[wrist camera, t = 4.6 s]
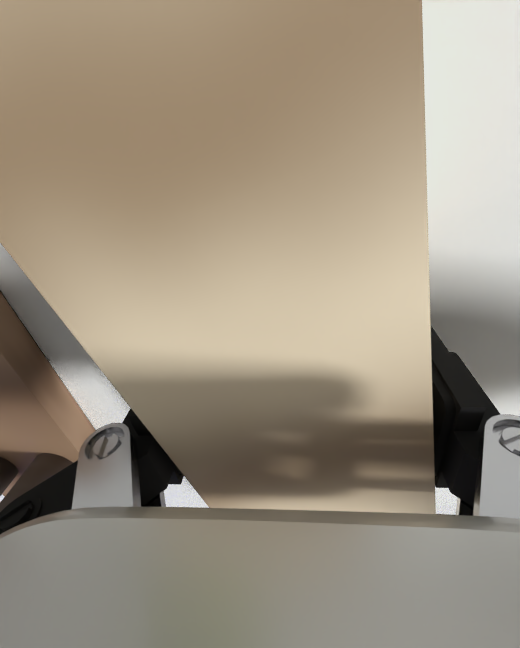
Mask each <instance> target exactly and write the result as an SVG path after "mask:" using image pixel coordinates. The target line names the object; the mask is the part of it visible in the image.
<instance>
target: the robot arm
mask: <svg viewBox="0 0 520 648" xmlns="http://www.w3.org/2000/svg"><path fill="white" fill-rule="evenodd" d="M431 362H432V399H433V436H434V473H435V486H436V488H449V490H450V492H451V493H452V494H454V495H455V496H457V497H458V499H457V507H456V515H445V514H418V513H385V512H353V511H317V510H278V509H238V508H189V507H166V504H165V496H164V490H165V489H166V488H167V486H168V484H181V483H182V479H183V476H184V475H183V473H182V472H181V471H180V470H179V468H178V467H177V466H176V465H175V463H174V462H173V461H172V460H171V458H170V457H169V456H168V454H167V453H166V452H165V451H164V449H163V448H162V447H161V446H160V444H159V443H158V442H157V441H156V439H155V438H154V437H153V435H152V434H151V433H150V432H149V430H148V429H147V428H146V427H145V425H144V424H143V423H142V421H141V420H140V419H139V418H138V416H137V415H136V414H135V413H134V411H133V410H132V409H130V410H129V412H128V414H127V416H126V417H125V419H124V421H123V423H111V424H108V425H105V426H103V427H101V428H99V429H97V430H96V431H94V432H93V433H92V434H91V435H90V436H89V437H88V438H87V439H86V440H85V441H84V443H83V444H82V446H81V448H80V451H79V457H78V460H77V461H76V462H74V463H72V464H71V465H69V466H67V467H66V468H64V469H63V470H61V471H59V472H58V473H56V474H55V475H53V476H51V477H50V478H48V479H47V480H45V481H43V482H42V483H40V484H39V485H37V486H35V487H34V488H32V489H31V490H29V491H27V492H26V493H24V494H23V495H21V496H19V497H18V498H16V499H15V500H14V501H12V502H11V503H9V504H8V505H7V506H6V507H5V508H4V509H3V510H2V511H1V512H0V648H520V416H515V415H510V414H503V415H500V413H499V412H498V410H497V409H496V408H495V406H494V405H493V403H492V402H491V401H490V399H489V398H488V396H487V395H486V394H485V392H484V391H483V390H482V388H481V387H480V385H479V384H478V383H477V381H476V380H475V378H474V377H473V376H472V374H471V373H470V371H469V370H468V369H467V367H466V366H465V365H464V363H463V362H462V360H461V359H460V358H459V356H458V355H457V354H456V353H454V352H449V351H448V350H447V348H446V347H445V346H444V344H443V343H442V341H441V340H440V338H439V337H438V335H437V334H436V333H435V331H434V330H433V328H432V327H431Z"/></svg>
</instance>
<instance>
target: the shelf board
mask: <svg viewBox="0 0 520 648" xmlns="http://www.w3.org/2000/svg"><path fill="white" fill-rule="evenodd" d="M0 243H1V244H2V245H3V247H4V248H5V249H6V250H7V252H8V253H9V254H10V255H11V257H12V258H13V259H14V260H15V262H16V263H17V264H18V266H19V267H20V268H21V269H22V271H23V272H24V273H25V274H26V276H27V277H28V278H29V279H30V281H31V282H32V283H33V285H34V286H35V287H36V288H37V290H38V291H39V292H40V293H41V295H42V296H43V297H44V299H45V300H46V301H47V302H48V304H49V305H50V306H51V307H52V309H53V310H54V311H55V312H56V314H57V315H58V316H59V318H60V319H61V320H62V321H63V323H64V324H65V325H66V326H67V328H68V329H69V330H70V331H71V333H72V334H73V335H74V337H75V338H76V339H77V340H78V342H79V343H80V344H81V345H82V347H83V348H84V349H85V350H86V352H87V353H88V354H89V356H90V357H91V358H92V359H93V361H94V362H95V363H96V364H97V366H98V367H99V368H100V370H101V371H102V372H103V373H104V375H105V376H106V377H107V378H108V380H109V381H110V382H111V383H112V385H113V386H114V387H115V389H116V390H117V391H118V392H119V394H120V395H121V396H122V397H123V399H124V400H125V401H126V402H127V404H128V405H129V406H130V408H131V409H132V410H133V411H134V413H135V414H136V415H137V416H138V418H139V419H140V420H141V421H142V423H143V424H144V425H145V427H146V428H147V429H148V430H149V432H150V433H151V434H152V435H153V437H154V438H155V439H156V441H157V442H158V443H159V444H160V446H161V447H162V448H163V449H164V451H165V452H166V453H167V454H168V456H169V457H170V458H171V460H172V461H173V462H174V463H175V465H176V466H177V467H178V468H179V470H180V471H181V472H182V473H183V475H184V476H185V477H186V479H187V480H188V481H189V482H190V484H191V485H192V486H193V487H194V489H195V490H196V491H197V493H198V494H199V495H200V496H201V498H202V499H203V500H204V501H205V503H206V504H207V505H208V506H209V508H238V509H278V510H317V511H353V512H385V513H418V514H436V510H435V473H434V436H433V399H432V362H431V325H430V287H429V250H428V213H427V176H426V139H425V102H424V64H423V27H422V0H0Z"/></svg>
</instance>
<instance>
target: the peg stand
mask: <svg viewBox="0 0 520 648" xmlns="http://www.w3.org/2000/svg"><path fill="white" fill-rule="evenodd" d="M94 431H96V430H95V429H94V427H93V426H92V425H91V423H90V422H89V420H88V419H87V417H86V416H85V414H84V413H83V411H82V410H81V408H80V407H79V406H78V404H77V403H76V401H75V400H74V398H73V397H72V395H71V394H70V392H69V391H68V390H67V388H66V387H65V385H64V384H63V382H62V381H61V379H60V378H59V376H58V375H57V374H56V372H55V371H54V369H53V368H52V366H51V365H50V363H49V362H48V360H47V359H46V358H45V356H44V355H43V353H42V352H41V350H40V349H39V347H38V346H37V344H36V343H35V342H34V340H33V339H32V337H31V336H30V334H29V333H28V331H27V330H26V328H25V327H24V326H23V324H22V323H21V321H20V320H19V318H18V317H17V315H16V314H15V312H14V311H13V309H12V308H11V307H10V305H9V304H8V302H7V301H6V299H5V298H4V296H3V295H2V293H1V292H0V496H1V495H2V494H3V495H4V496H5V497H4V499H3V500H2V501H1V502H0V512H1V511H2V510H3V509H4V508H5V507H6V506H7V505H8V504H9V503H11V502H12V501H14V500H15V499H16V498H18V497H19V496H21V495H23V494H24V493H26V492H27V491H29V490H31V489H32V488H34V487H35V486H37V485H39V484H40V483H42V482H43V481H45V480H47V479H48V478H50V477H51V476H53V475H55V474H56V473H58V472H59V471H61V470H63V469H64V468H66V467H67V466H69V465H71V464H72V463H74V462H76V461H77V460H78V457H79V451H80V448H81V446H82V444H83V443H84V441H85V440H86V439H87V438H88V437H89V436H90V435H91V434H92V433H93V432H94Z"/></svg>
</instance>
